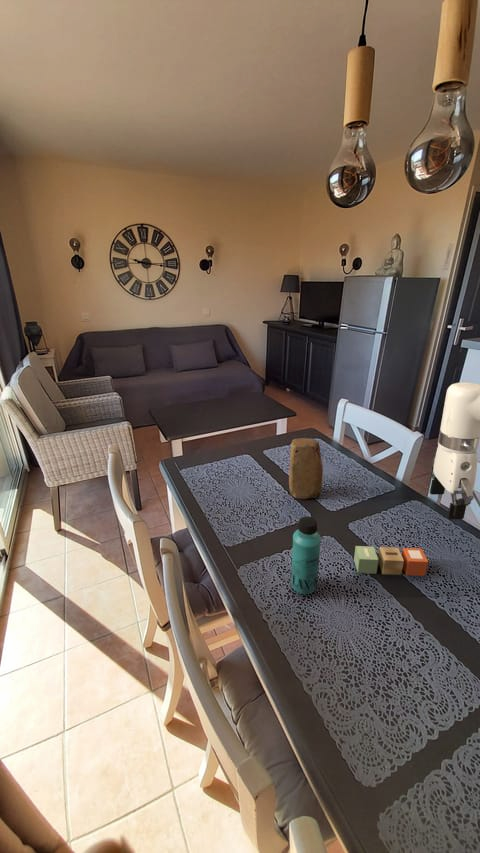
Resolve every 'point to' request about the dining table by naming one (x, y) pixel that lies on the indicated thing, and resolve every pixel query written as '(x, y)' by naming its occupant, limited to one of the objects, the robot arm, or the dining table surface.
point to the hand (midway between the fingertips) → (445, 505)
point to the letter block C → (414, 561)
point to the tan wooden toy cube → (390, 560)
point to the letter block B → (366, 559)
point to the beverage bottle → (305, 556)
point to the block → (305, 469)
